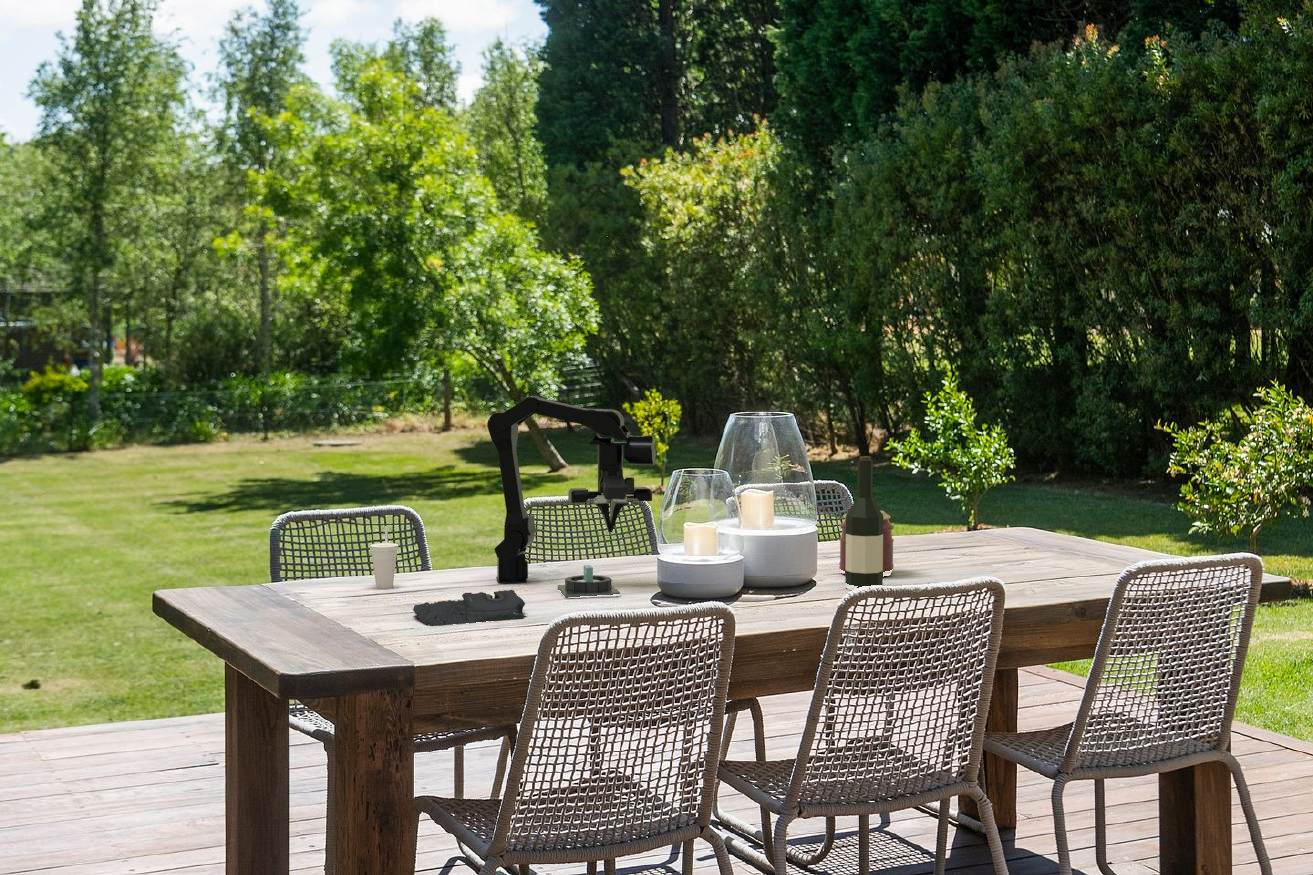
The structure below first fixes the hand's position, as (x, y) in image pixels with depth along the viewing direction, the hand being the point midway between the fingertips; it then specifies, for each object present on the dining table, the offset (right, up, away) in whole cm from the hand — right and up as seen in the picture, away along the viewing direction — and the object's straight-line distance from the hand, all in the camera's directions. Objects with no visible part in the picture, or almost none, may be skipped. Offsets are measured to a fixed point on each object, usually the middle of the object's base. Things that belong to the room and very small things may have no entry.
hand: (610, 532), depth 306 cm
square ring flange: (-4, -13, -11) cm, 18 cm away
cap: (-4, -12, -11) cm, 17 cm away
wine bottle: (+58, -13, -5) cm, 59 cm away
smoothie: (-51, -12, -4) cm, 53 cm away
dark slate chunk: (-27, -15, -37) cm, 48 cm away
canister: (+61, -12, +15) cm, 64 cm away
